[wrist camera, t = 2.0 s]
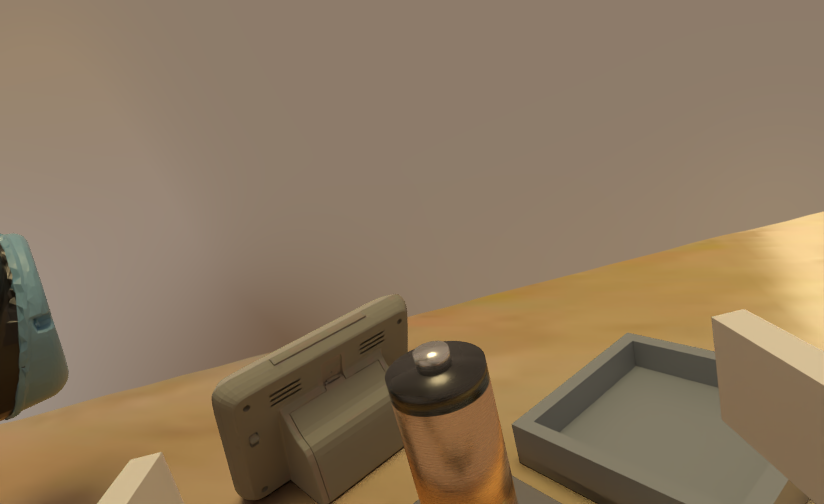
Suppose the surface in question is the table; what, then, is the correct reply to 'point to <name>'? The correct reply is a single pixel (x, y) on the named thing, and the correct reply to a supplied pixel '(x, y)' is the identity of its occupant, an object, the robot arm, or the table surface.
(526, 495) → the checker pad
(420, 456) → the cell
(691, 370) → the tray
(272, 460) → the digital clock
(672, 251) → the table surface
